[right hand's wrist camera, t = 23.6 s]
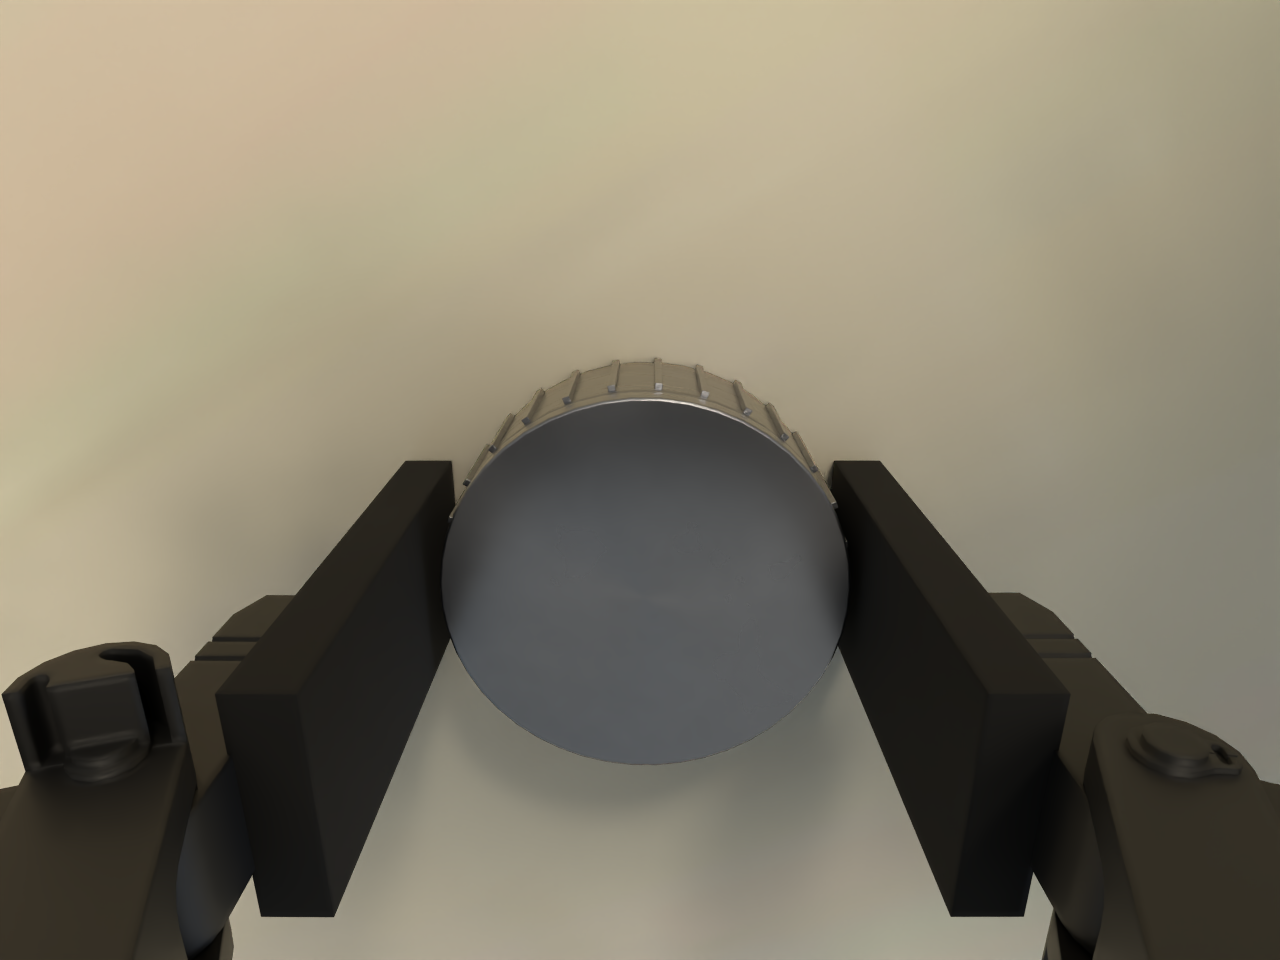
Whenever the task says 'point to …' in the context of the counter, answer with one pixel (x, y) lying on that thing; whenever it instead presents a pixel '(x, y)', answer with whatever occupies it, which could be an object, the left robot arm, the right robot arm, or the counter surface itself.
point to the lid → (645, 566)
